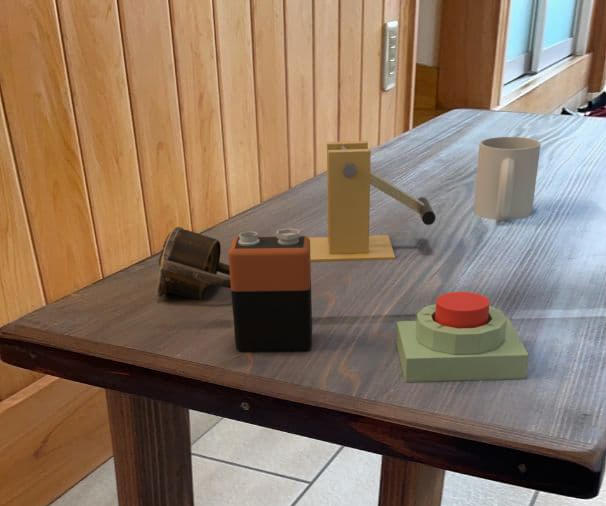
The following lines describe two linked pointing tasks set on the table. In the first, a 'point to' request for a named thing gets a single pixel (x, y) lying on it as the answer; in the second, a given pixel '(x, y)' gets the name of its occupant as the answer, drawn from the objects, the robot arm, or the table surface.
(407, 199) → the lever
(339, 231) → the bracket
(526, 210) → the cup
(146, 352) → the table surface
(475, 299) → the button
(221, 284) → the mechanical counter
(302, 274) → the battery
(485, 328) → the switch block
